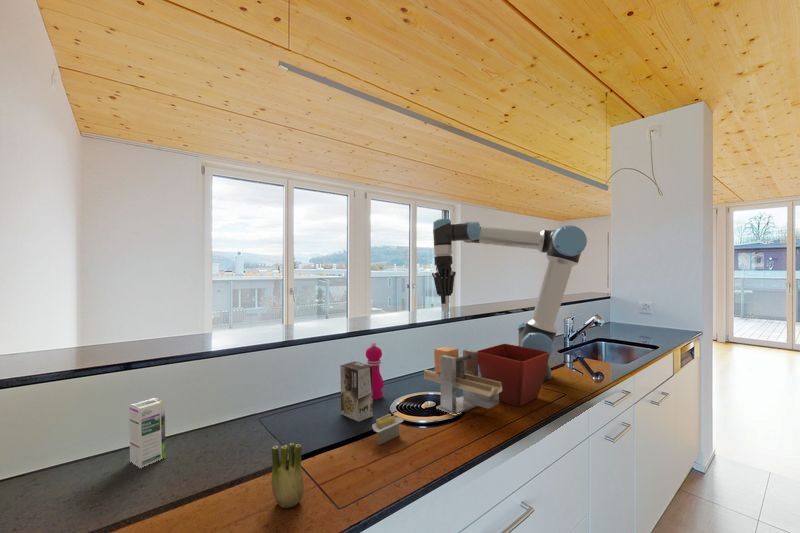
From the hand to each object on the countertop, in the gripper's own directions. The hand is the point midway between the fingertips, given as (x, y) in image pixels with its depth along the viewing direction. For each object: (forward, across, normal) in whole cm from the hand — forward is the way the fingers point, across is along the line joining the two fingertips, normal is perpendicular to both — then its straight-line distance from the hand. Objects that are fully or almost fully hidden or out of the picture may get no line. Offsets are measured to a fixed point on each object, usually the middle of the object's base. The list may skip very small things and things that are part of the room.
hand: (445, 311), depth 152 cm
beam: (+26, +20, +22) cm, 39 cm away
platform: (+29, +53, +22) cm, 64 cm away
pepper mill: (+28, +36, -6) cm, 46 cm away
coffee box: (+28, +50, +3) cm, 57 cm away
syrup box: (+27, +104, -10) cm, 107 cm away
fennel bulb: (+29, +85, +29) cm, 94 cm away
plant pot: (+30, -1, +29) cm, 42 cm away
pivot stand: (+29, +20, +21) cm, 41 cm away
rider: (+20, +20, +16) cm, 32 cm away
